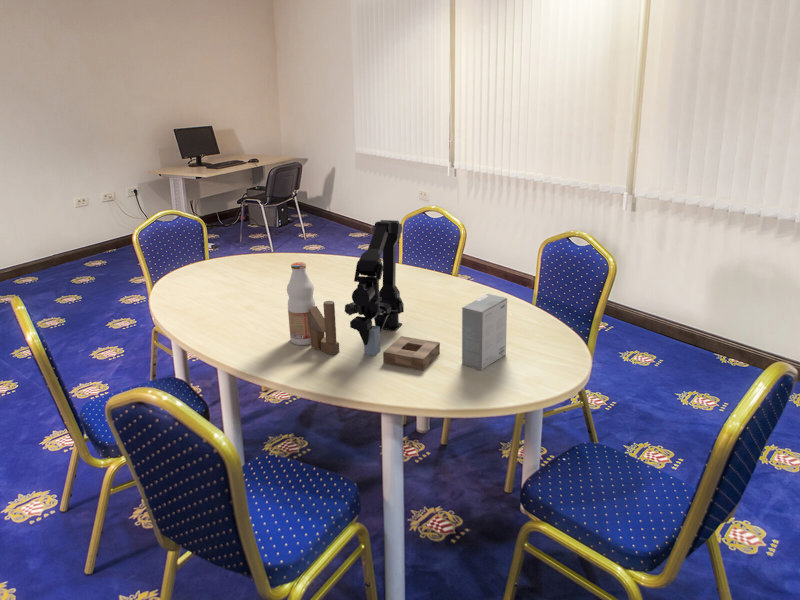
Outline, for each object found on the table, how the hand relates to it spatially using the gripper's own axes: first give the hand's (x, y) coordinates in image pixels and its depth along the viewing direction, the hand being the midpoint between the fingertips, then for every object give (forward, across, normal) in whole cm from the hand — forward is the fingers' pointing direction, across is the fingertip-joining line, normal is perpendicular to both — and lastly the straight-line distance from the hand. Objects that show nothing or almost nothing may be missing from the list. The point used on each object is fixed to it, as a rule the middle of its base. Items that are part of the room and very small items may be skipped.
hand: (372, 339), depth 210 cm
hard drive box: (+5, -9, +36) cm, 37 cm away
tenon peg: (+5, 0, 0) cm, 5 cm away
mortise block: (+5, -1, +14) cm, 15 cm away
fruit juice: (+5, 0, -27) cm, 27 cm away
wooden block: (+5, +4, -16) cm, 17 cm away
